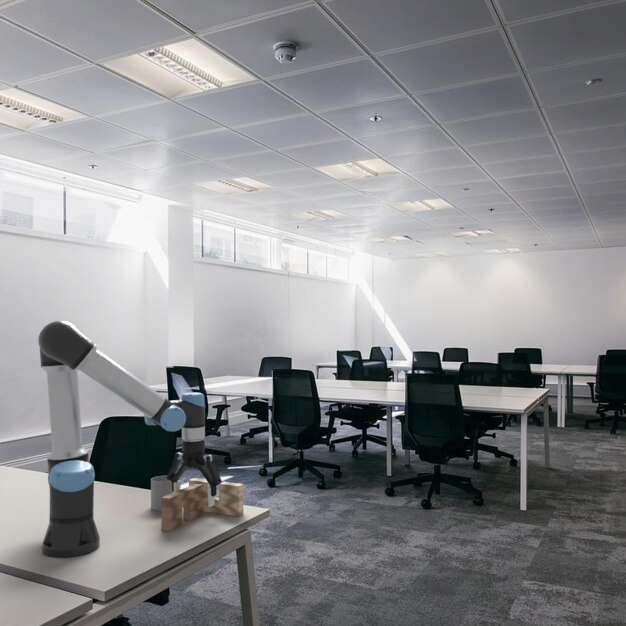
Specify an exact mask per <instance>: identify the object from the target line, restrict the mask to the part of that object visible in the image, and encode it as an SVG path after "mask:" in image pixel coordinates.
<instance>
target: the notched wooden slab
mask: <svg viewBox="0 0 626 626" xmlns="http://www.w3.org/2000/svg"><path fill="white" fill-rule="evenodd" d="M193 484H202V485H203V512H206V513H213V514H219V515H227V516H234V517H240V516H242V515H244V483H239V482H238V483H237V482H230V481H229V482H228V481H222V483H221V484H219V485H218V496H215V505H213V506H211V507H208V487H209V486H210V485H209V483H208V482H207V480H206V479H205V478H196V477H195V478H190V479H188V487H189V486H191V485H193Z"/></svg>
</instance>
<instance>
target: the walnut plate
mask: <svg viewBox="0 0 626 626" xmlns="http://www.w3.org/2000/svg"><path fill="white" fill-rule="evenodd" d="M203 512H204V511H203V485H202V484H193V485H191V486H189V485H188V486H186V487H183V488H182V489H181V488H180V490H179V491H176V492H174V493H171V494H169V495H166V496H164V497H162V511H161V522H160V523H161V524H160V525H161V526H160V527H161V528H160V529H161V531H166V532H171V531H172V530H174V529H176V528H178V527H181V526H183V520H184V519H186V521H193V520H195V519H197V518H198V516H199V517H201V516H203V514H204V513H203ZM200 515H201V516H200ZM196 517H197V518H196ZM194 518H195V519H194ZM192 519H193V520H192Z"/></svg>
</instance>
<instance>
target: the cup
mask: <svg viewBox="0 0 626 626" xmlns="http://www.w3.org/2000/svg"><path fill="white" fill-rule="evenodd" d="M167 476H168V475H159V476H154V477H152V478H151V479H150V509H151V510H152V509H153V510H152V511H155V510H162V497H164V496H166V495H169V494H171V493H174V492H173V491H172V482H171V481H170V480H167Z"/></svg>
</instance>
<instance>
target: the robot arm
mask: <svg viewBox="0 0 626 626" xmlns="http://www.w3.org/2000/svg"><path fill="white" fill-rule="evenodd" d="M37 341H38V347H39V357H40V359H39V360H40V368H41V369H42V370H44V371H45V372H46V378H47V379H46V380H47V393H48V394H47V395H48V407H49V409H48V410H49V420H50V435H51V436H50V437H51V452H50V453H49V454H48V455H47V457H46V458H47V471H48V472H47V473H48V475H47V480H48V481H47V482H48V486H49V519H48V520H49V523H48V525H47V529H46V532H45V535H44V538H43V540H42V544H41V553H42V554H43V555H44V556H47V557H51V558H72V557H77V556H83V555H85V554H89V553H91V552H93V551H95V550H97V549H98V548H99V546H100V545H101V544H100V543H101V541H100V538H101V537H100V534H99V531H98V527H97V525H96V522H95V519H94V512H95V511H94V508H95V507H94V505H95V504H94V503H95V501H94V500H95V499H94V498H95V495H94V494H95V491H94V489H95V488H94V487H95V477H96V476H95V475H96V474H95V468H94V466H93V464H92V463H91V462H90V459H89V458H90V457H89V450H88V449H86V448H85V447H84V446H83V435H82V434H83V432H82V417H81V407H80V405H81V403H80V392H79V376H78V375H79V373H78V371H81V372H82V373H83V374H85V375H86V376H88V377H89V378H91V379H92V380H94V381H95V382H96V383H98V384H100V385H101V386H102V387H104V389H107V390H108V391H110V392H111V393H112V394H114V395H115V396H117V397H118V398H119V399H121V400H122V401H124V402H125V403H127V404H129V405H130V406H132V407H133V408H134V409H136V410H137V411H138V412H140V413H142V414H143V417H144V423H145V424H146V425H147V426H157V425H159V426H161V428H162V429H163V430H166V431H167V432H177V431H180V430H181V439H182V441H181V451H182V452H181V451H179V452H176V453H174V458H173V461H172V463H171V466H170V469H169V471H168V473H167V475H166V476H167V480H170V481H171V482H172V491H173V492H176V491H179V490H181V480H180V478H181V477H182V475H183V474H184V473H185V472H186V470H187V469H191V468H192V469H197V470H198V471H200V473H201V474H202V476H203V477H204V479H205V480H207V482H208V483H209V485H210V486H209V487H208V507H211V506H213V505H215V497H217V486H219V484H221V483H222V482H223V481H222V479H221V476H220V473H219V471H218V468H217V466H216V464H215V461H214V455H213V454H208V455H205V451H206V440H205V437H206V429H205V428H206V425H205V420H206V419H205V417H206V410H205V409H206V404H205V395H204V394H203V393H201V392H195V391H194V392H184V393H182V394H181V398H180V399H176V400H175V399H174V400H169V399H167V398H166V397H164V396H163V395H162V394H161V393H159V392H158V391H156V390H155V389H154V388H152V387H151V386H149V385H148V384H146V383H145V382H144V381H142V380H141V379H139V378H138V377H136V376H135V375H134V374H133V373H132V372H129V371H128V370H127V369H126V368H124V367H123V366H122V365H120V364H118V363H117V362H116V361H114V360H113V359H111V357H109V356H107V355H106V354H104V353H103V352H102V351H101V350H99V349H98V348H97V344H96V343H95V342H94V341H92V340H91V339H90V338H89V337H88V336H86V335H85V334H84V333H83V332H82V330H80V329H79V327H77V326H76V325H75V324H73V323H72V322H70V321H65V320H55V321H52V322H50V323H48V324H46V325H45V326H44V327H43V328H42V329H41V331H40V332H39V336H38V340H37ZM182 460H183V462H182V463H181V461H182ZM180 463H181V465H180ZM179 466H180V467H179Z"/></svg>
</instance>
